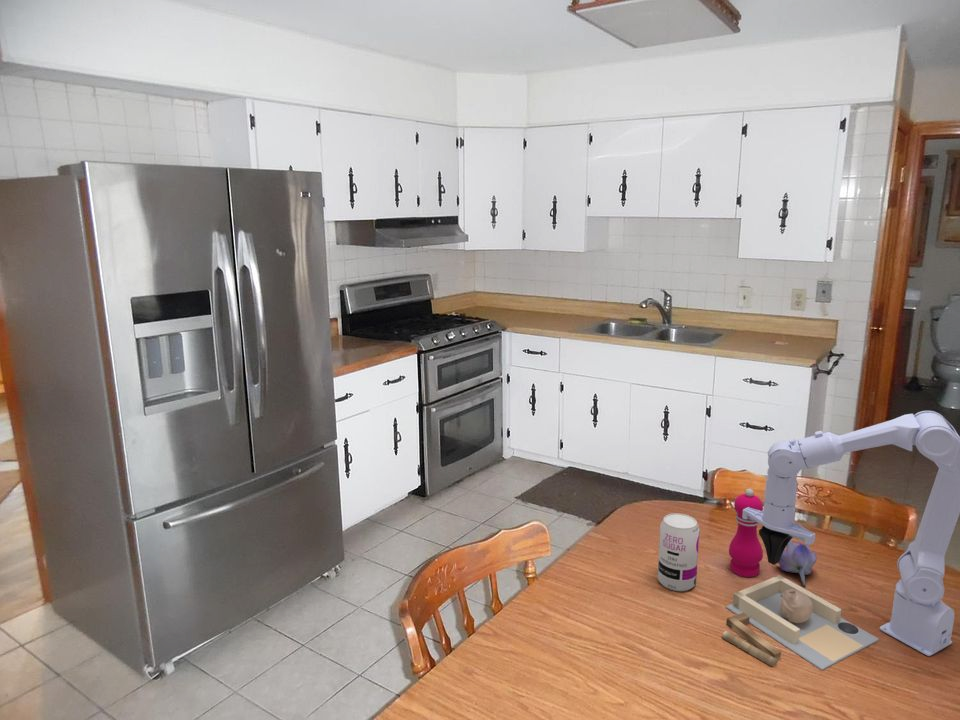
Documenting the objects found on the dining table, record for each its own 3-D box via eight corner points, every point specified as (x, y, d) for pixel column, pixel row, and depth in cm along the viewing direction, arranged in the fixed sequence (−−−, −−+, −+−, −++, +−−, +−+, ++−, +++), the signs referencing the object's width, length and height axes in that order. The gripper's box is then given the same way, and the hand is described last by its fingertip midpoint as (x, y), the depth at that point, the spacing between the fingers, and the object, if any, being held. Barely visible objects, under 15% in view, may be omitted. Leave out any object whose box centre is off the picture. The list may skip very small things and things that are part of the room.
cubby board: (879, 640, 130) (881, 626, 129) (821, 670, 122) (823, 655, 121) (780, 584, 148) (781, 572, 148) (725, 607, 141) (726, 594, 140)
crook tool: (791, 655, 126) (792, 647, 126) (774, 661, 124) (774, 654, 124) (742, 619, 137) (743, 612, 136) (726, 625, 135) (726, 618, 135)
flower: (831, 566, 144) (806, 529, 151) (793, 580, 145) (771, 543, 152) (832, 584, 150) (809, 548, 157) (797, 598, 151) (774, 561, 158)
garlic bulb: (770, 613, 138) (773, 578, 136) (795, 607, 140) (799, 572, 138) (793, 632, 132) (797, 595, 130) (820, 625, 134) (824, 589, 132)
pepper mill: (764, 579, 150) (770, 497, 145) (730, 577, 152) (734, 495, 147) (758, 562, 157) (763, 483, 152) (725, 560, 158) (730, 481, 154)
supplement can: (691, 573, 153) (695, 512, 150) (699, 593, 146) (703, 530, 142) (655, 571, 154) (658, 511, 151) (660, 592, 146) (664, 529, 143)
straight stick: (776, 665, 124) (777, 657, 123) (771, 668, 123) (772, 661, 122) (724, 635, 132) (725, 628, 132) (719, 638, 131) (720, 631, 131)
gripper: (826, 508, 132) (818, 570, 135) (758, 484, 143) (752, 542, 147) (806, 518, 128) (799, 582, 131) (738, 492, 139) (733, 552, 143)
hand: (773, 562), depth 139 cm, fingers closed
